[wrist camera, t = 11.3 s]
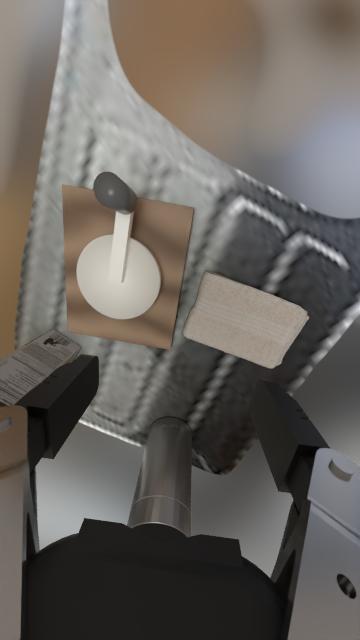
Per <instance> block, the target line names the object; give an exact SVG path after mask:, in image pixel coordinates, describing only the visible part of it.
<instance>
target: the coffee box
mask: <svg viewBox="0 0 360 640" xmlns="http://www.w3.org/2000/svg"><path fill="white" fill-rule="evenodd" d="M80 349H81V346H79V345H78V344H76V343H75V342H73V341H71V340H70V339H68V338H67V337H65V336H63V335H62V334H60V333H59V332H57V331H55V330H54V329H51V330H50V331H48V332H46V333H45V334H43V335H41V336H40V337H38V338H36V339H35V340H33V341H31V342H29V343H28V344H26V345H24V346H22V347H21V348H19V349H17V350H16V351H14V352H12V353H11V354H9V355H7V356H5V357H4V358H2V359H0V407H4V406H10V405H15V404H17V403H18V402H19V401H20V400H21V399H22V398H23V397H25V396H26V395H27V394H28V393H29V392H30V391H31V390H33V389H34V388H35V387H36V386H37V385H38V384H39V383H42V381H43V380H44V379H45V378H46V377H47V376H48V377H49V375H50V374H51V373H52V372H53V371H54V370H55V369H56V368H58V367H60V366H62V365H64V364H66V363H72V362H73V360H74V358H75V357H76V355H77V354H78V352H79V350H80Z"/></svg>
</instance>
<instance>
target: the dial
mask: <svg viewBox="0 0 360 640" xmlns="http://www.w3.org/2000/svg"><path fill="white" fill-rule="evenodd" d="M93 189H94V194H95V197H96V199H97V200H98V202H99V203H100V204H102V205H103V206H105V207H107V208H110V209H112V210H114V211H116V217H115V226H114V234H113V235H105V236H101V237H99V238H96V239H94V240H93V241H91V242H90V243H89V244H88V245H87V246H86V247H85V248H84V249H83V251H82V253H81V254H80V257H79V259H78V263H77V281H78V285H79V288H80V291H81V293H82V294H83V296H84V298H85V299H86V301H87V302H88V303H89V304H90V305H91V306H92V307H93V308H94V309H95V310H97V311H98V312H100V313H101V314H103V315H105V316H108V317H111V318H115V319H131V318H134V317H137V316H139V315H141V314H143V313H144V312H146V311H147V310H148V309H149V308H150V307H151V306H152V304H153V303H154V301H155V300H156V298H157V296H158V294H159V291H160V288H161V271H160V267H159V264H158V262H157V260H156V258H155V256H154V255H153V253H152V252H151V251H150V250H149V249H148V248H147V247H146V246H145V245H144V244H143V243H141V242H140V241H138V240H136V239H134V238H131V237H130V235H131V228H132V221H133V214H134V210H135V209H136V206H137V196H136V194H135V192H134V191H133V190H132V189H131V188H130V187H129V186H128V185H127V184H126V183H124V182H123V181H122V180H121V179H120V178H119V177H118V176H117V175H115V174H114V173H111V172H103V173H101V174H99V175H98V176H97V177H96V179H95V181H94V187H93Z"/></svg>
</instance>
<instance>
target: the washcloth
mask: <svg viewBox="0 0 360 640" xmlns="http://www.w3.org/2000/svg"><path fill="white" fill-rule="evenodd" d="M308 319H309V316H307V311H306V310H304V309H303V308H301V307H300V306H299V305H296V304H294V303H291V302H289V301H286V300H284V299H282V298H279V297H277V296H274V295H272V294H269V293H266V292H264V291H261V290H258V289H256V288H253V287H250V286H248V285H245V284H242V283H240V282H236V281H234V280H231V279H229V278H227V277H224V276H221V275H219V274H216V273H213V272H210V271H205V273H204V275H203V277H202V281H201V284H200V287H199V292H198V297H197V299H196V302H195V304H194V307H193V308H192V309H191V311H190V313H189V316H188V318H187V321H186V325H185V327H184V330H183V335H184V336H185V337H187V339H191V340H194V341H197V342H200V343H202V344H206V345H207V346H210V347H213V348H216V349H219V350H222V351H224V352H225V353H229V354H232V355H235V356H237V357H240V358H244V359H246V360H249V361H252V362H254V363H257V364H259V365H262V366H265V367H267V368H274V367H275V366H277V365H279V364H281V363H282V358H283V356H284V355H285V353H286V351H287V350H288V348H289V347H290V345H291V344H292V343H293V341H294V340H295V338H296V337H297V335H298V334H299V333H300V331H301V329H302V328H303V326H304V325H305V323H306V321H307V320H308Z"/></svg>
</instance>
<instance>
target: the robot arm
mask: <svg viewBox="0 0 360 640" xmlns="http://www.w3.org/2000/svg"><path fill="white" fill-rule="evenodd" d="M98 385H99V359H98V357H97V356H92V355H84V354H81V355H80V356H78V357H77V358H76V359H75V360H74V361H73V362H72V363H66V364H64V365H62V366H60V367H58V368H56V369H55V370H54V371H53V372H52V373H51V374H50V375H49V377H48V376H47V377H46V378H45V379H44V380H43V381H42V383H39V384H38V385H37V386H36V387H35V388H34V389H33V390H31V391H30V392H29V393H28V394H27V395H26V396H25V397H23V398H22V399H21V400H20V401H19V402H18V403H17V404H15V405H10V406H4V407H0V640H360V468H359V466H357V464H356V463H354V462H353V461H352V460H351V459H349V458H348V457H347V456H345V455H343V454H342V453H340V452H338V451H335V450H333V449H330V447H329V446H328V444H327V443H326V442H325V440H324V439H323V438H322V436H321V435H320V433H319V432H318V430H317V429H316V428H315V426H314V425H313V424H312V422H311V421H310V420H309V418H308V416H307V415H306V414H305V413H304V412H303V410H302V408H301V407H300V405H299V404H298V402H297V401H296V400H294V399H293V398H292V397H291V396H290V395H289V394H287V393H284V392H283V390H282V389H281V387H280V386H279V384H278V383H277V382H276V381H271V380H264V379H259V380H258V382H257V385H256V389H255V392H254V395H253V399H252V402H251V406H250V414H251V418H252V421H253V424H254V426H255V429H256V432H257V435H258V437H259V440H260V443H261V445H262V448H263V451H264V454H265V456H266V459H267V461H268V464H269V467H270V469H271V472H272V475H273V478H274V481H275V483H276V486H277V488H278V491H281V492H288V493H291V495H292V497H293V499H294V500H293V502H292V505H291V508H290V511H289V515H288V519H287V523H286V527H285V531H284V535H283V539H282V542H281V546H280V550H279V554H278V557H277V561H276V563H275V566H274V569H273V572H272V574H271V577H270V578H269V577H268V576H267V575H266V574H265V573H264V572H263V571H262V570H261V569H259V568H258V567H257V566H256V565H255V564H253V563H251V562H250V561H249V560H247V559H246V558H244V557H242V556H241V551H240V544H239V540H238V539H231V538H223V537H216V536H209V535H202V534H201V535H196V536H191V464H192V432H191V429H190V427H189V426H188V425H187V424H186V423H185V422H183V421H182V420H180V419H177V418H172V417H166V418H161V419H158V420H156V421H155V422H154V423H153V424H152V425H151V427H150V430H149V434H148V438H147V443H146V447H145V451H144V455H143V459H142V464H141V468H140V472H139V476H138V481H137V485H136V489H135V493H134V498H133V502H132V506H131V511H130V515H129V520H128V524H127V526H126V525H124V524H122V523H115V522H108V521H101V520H94V519H86V518H84V521H83V523H82V526H81V529H80V531H79V533H78V534H73V535H70V536H67V537H64V538H62V539H60V540H58V541H56V542H54V543H51V544H50V545H48V546H46V547H45V548H43V549H42V550H40V548H39V536H38V523H37V492H36V468H35V466H36V465H37V464H38V462H39V461H40V459H41V458H49V459H54V457H55V456H56V454H57V453H58V451H59V450H60V448H61V447H62V445H63V444H64V442H65V441H66V439H67V438H68V436H69V435H70V433H71V431H72V430H73V428H74V427H75V425H76V424H77V422H78V421H79V419H80V418H81V416H82V415H83V413H84V412H85V410H86V409H87V407H88V406H89V404H90V403H91V401H92V400H93V398H94V396H95V395H96V393H97V390H98Z"/></svg>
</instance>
